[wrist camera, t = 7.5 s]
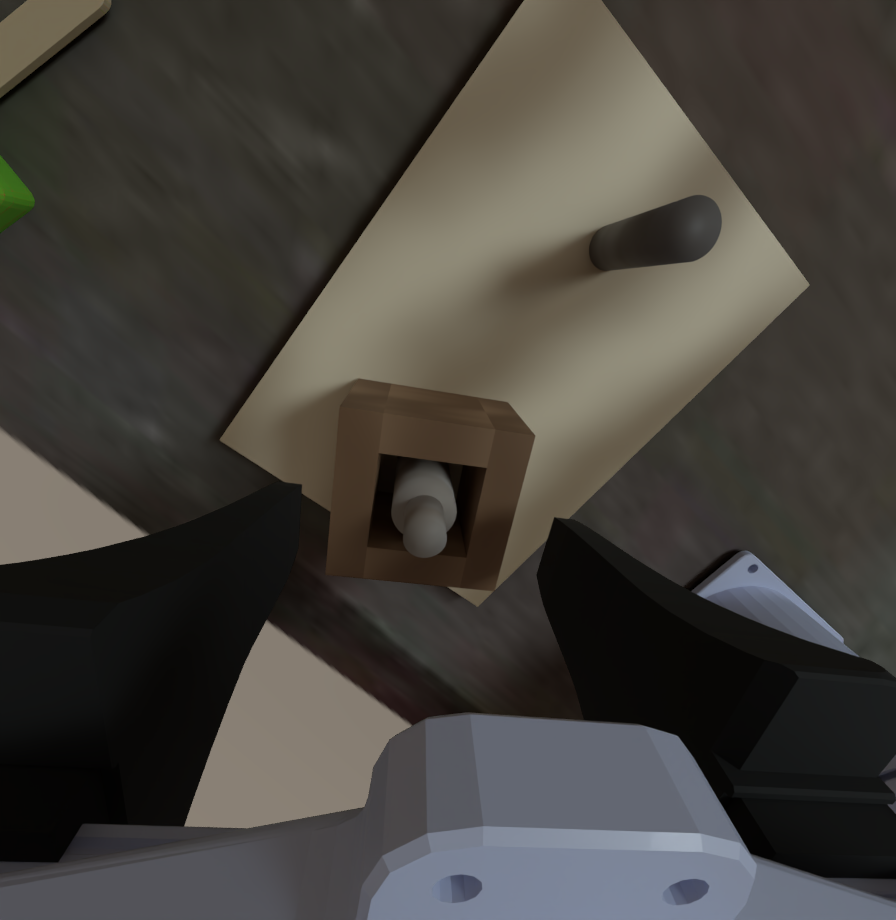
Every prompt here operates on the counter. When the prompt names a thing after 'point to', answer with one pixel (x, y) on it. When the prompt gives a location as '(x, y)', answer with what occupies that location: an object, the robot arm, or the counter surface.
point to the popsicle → (20, 53)
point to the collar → (431, 438)
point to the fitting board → (533, 281)
